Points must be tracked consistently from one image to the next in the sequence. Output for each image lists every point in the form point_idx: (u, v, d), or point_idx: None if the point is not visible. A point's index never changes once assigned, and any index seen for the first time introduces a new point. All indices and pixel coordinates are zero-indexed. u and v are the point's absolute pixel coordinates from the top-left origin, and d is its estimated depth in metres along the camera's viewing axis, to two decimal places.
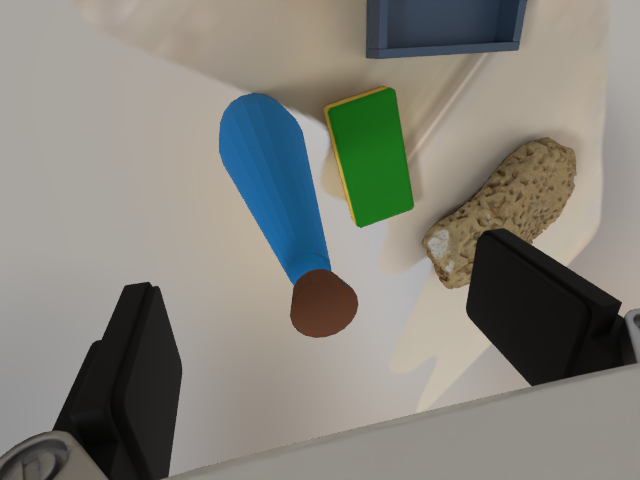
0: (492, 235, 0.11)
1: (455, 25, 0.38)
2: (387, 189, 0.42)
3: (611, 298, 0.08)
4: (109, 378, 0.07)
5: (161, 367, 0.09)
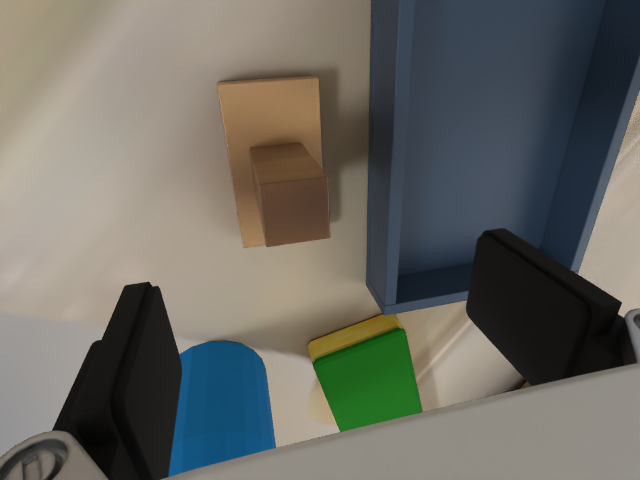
0: (492, 235, 0.11)
1: None
2: None
3: (611, 299, 0.08)
4: (109, 378, 0.07)
5: (161, 367, 0.09)
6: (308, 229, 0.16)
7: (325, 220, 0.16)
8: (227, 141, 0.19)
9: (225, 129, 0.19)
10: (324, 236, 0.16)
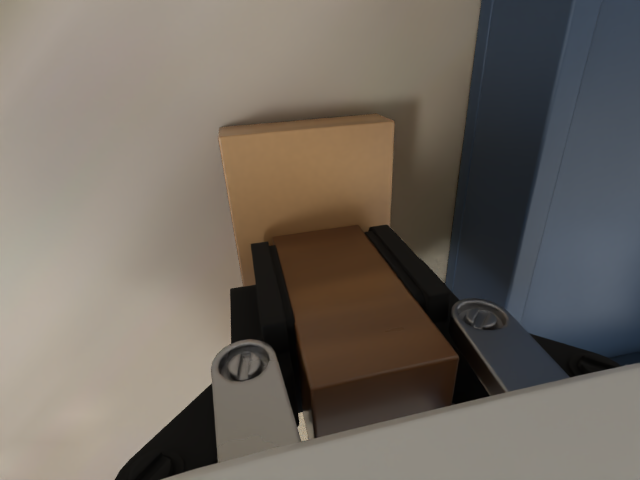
0: (373, 231, 0.11)
1: (605, 336, 0.19)
2: None
3: (443, 289, 0.08)
4: (277, 304, 0.08)
5: None
6: None
7: None
8: (235, 229, 0.11)
9: (232, 210, 0.11)
10: None
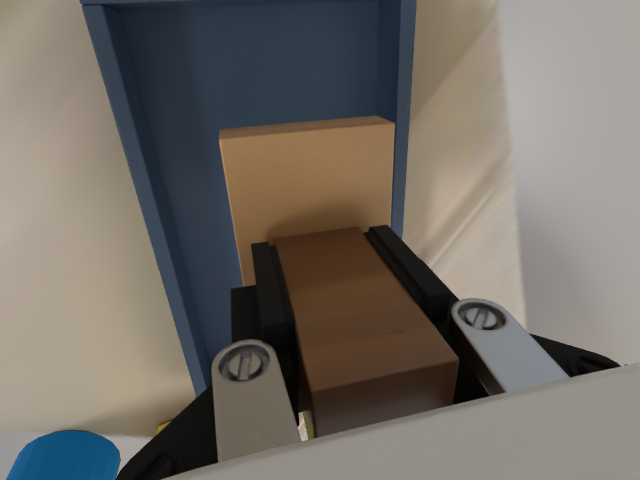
0: (373, 231, 0.11)
1: None
2: None
3: (442, 289, 0.08)
4: (277, 304, 0.08)
5: None
6: None
7: None
8: (236, 230, 0.11)
9: (232, 212, 0.11)
10: None
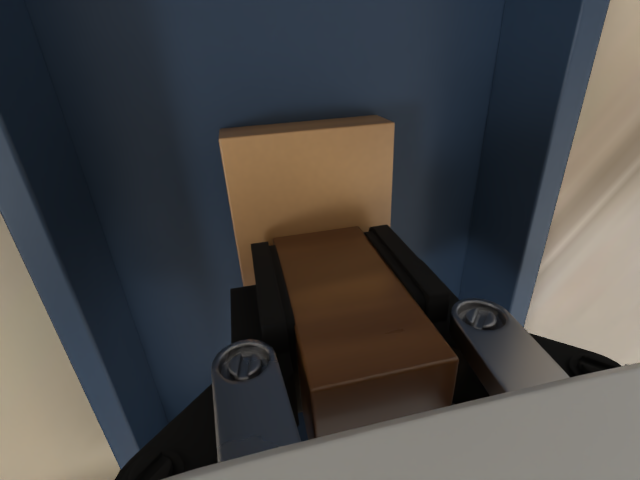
0: (374, 231, 0.11)
1: None
2: None
3: (443, 289, 0.08)
4: (277, 304, 0.08)
5: None
6: None
7: None
8: (235, 230, 0.11)
9: (232, 211, 0.11)
10: None
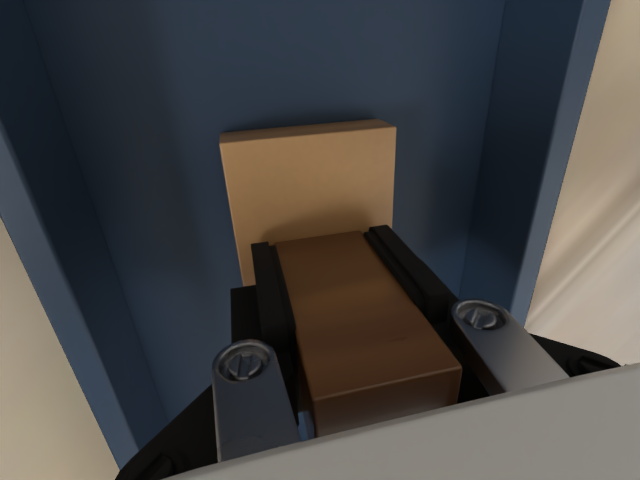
0: (373, 231, 0.11)
1: None
2: None
3: (443, 289, 0.08)
4: (277, 304, 0.08)
5: None
6: None
7: None
8: (236, 235, 0.11)
9: (233, 216, 0.11)
10: None
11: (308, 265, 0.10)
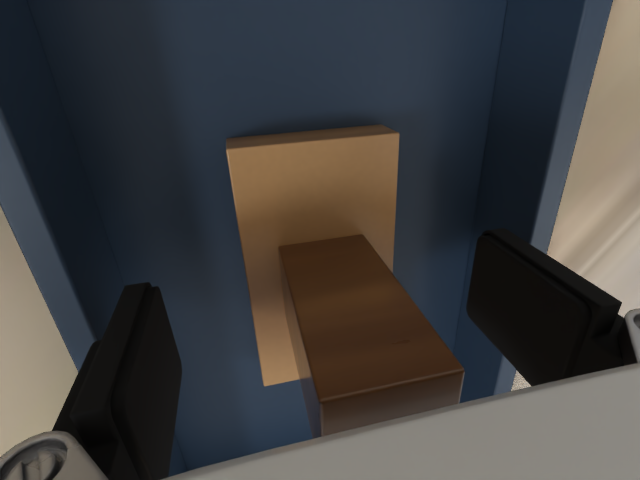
0: (492, 235, 0.11)
1: None
2: None
3: (611, 299, 0.08)
4: (109, 378, 0.07)
5: (161, 367, 0.09)
6: None
7: None
8: (242, 238, 0.11)
9: (239, 220, 0.11)
10: None
11: (313, 269, 0.10)
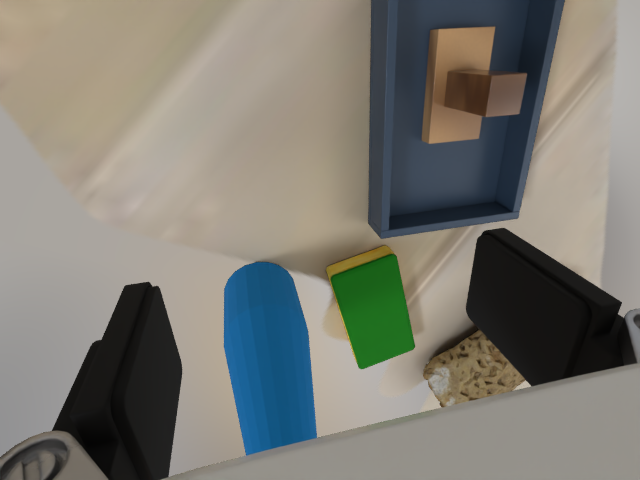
0: (492, 235, 0.11)
1: (455, 191, 0.38)
2: (389, 336, 0.43)
3: (611, 299, 0.08)
4: (109, 378, 0.07)
5: (161, 367, 0.09)
6: (509, 107, 0.27)
7: (519, 101, 0.27)
8: (436, 66, 0.31)
9: (436, 58, 0.30)
10: (516, 112, 0.28)
11: (467, 71, 0.30)
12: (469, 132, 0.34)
